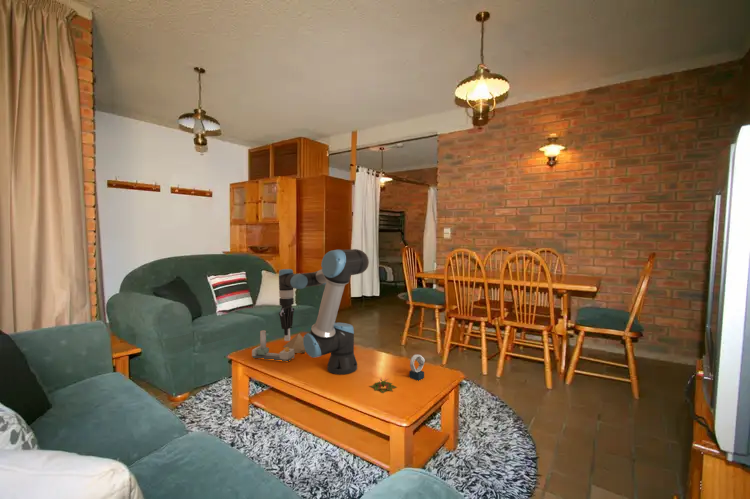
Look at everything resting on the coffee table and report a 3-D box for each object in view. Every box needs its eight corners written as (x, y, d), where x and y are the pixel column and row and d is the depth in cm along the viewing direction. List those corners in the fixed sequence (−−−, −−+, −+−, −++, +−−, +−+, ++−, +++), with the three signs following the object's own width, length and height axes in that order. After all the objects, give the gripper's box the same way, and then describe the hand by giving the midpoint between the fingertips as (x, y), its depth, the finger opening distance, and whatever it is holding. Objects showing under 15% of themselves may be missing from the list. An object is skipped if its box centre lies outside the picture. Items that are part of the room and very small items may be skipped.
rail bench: (294, 357, 186) (294, 348, 186) (288, 362, 179) (287, 353, 179) (259, 354, 192) (259, 345, 191) (252, 358, 185) (252, 349, 185)
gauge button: (289, 354, 184) (289, 347, 184) (287, 355, 182) (287, 348, 182) (286, 354, 184) (286, 346, 184) (284, 355, 182) (284, 348, 182)
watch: (426, 377, 160) (426, 354, 160) (416, 382, 155) (416, 358, 154) (417, 373, 164) (417, 351, 164) (406, 378, 159) (406, 355, 158)
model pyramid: (288, 356, 189) (288, 339, 189) (282, 347, 204) (282, 331, 204) (317, 352, 197) (316, 335, 196) (308, 343, 212) (308, 328, 212)
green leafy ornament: (383, 380, 158) (383, 370, 158) (402, 388, 149) (402, 378, 149) (364, 387, 150) (364, 377, 150) (382, 397, 141) (382, 386, 141)
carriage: (269, 352, 189) (268, 330, 188) (263, 355, 184) (263, 332, 183) (262, 352, 190) (262, 329, 189) (257, 355, 185) (257, 332, 184)
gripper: (286, 295, 189) (287, 336, 190) (273, 299, 177) (274, 343, 177) (298, 295, 187) (299, 337, 188) (286, 299, 175) (287, 344, 175)
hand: (287, 340), depth 182 cm, fingers closed
